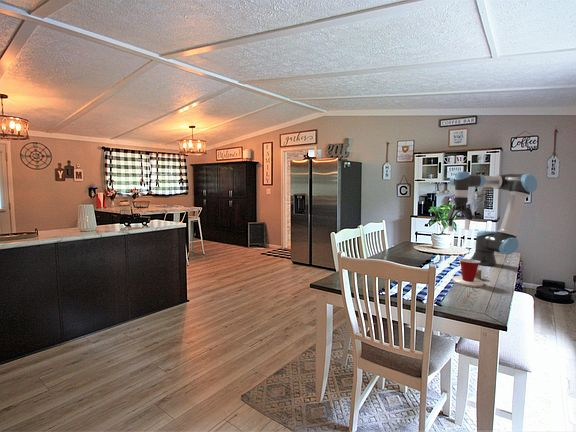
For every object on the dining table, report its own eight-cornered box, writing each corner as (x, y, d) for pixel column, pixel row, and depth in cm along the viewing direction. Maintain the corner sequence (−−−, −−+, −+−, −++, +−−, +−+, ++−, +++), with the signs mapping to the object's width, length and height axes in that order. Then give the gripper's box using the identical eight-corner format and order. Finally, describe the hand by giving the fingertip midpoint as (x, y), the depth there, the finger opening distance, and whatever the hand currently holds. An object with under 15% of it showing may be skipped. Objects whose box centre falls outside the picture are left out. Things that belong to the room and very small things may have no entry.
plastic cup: (476, 278, 200) (478, 258, 199) (480, 284, 190) (482, 263, 189) (456, 276, 204) (457, 256, 202) (458, 281, 194) (460, 261, 192)
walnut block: (472, 276, 210) (472, 268, 210) (480, 278, 206) (481, 270, 206) (468, 277, 207) (469, 269, 207) (477, 279, 203) (478, 271, 203)
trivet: (466, 277, 207) (467, 275, 207) (490, 285, 192) (490, 283, 192) (446, 279, 202) (446, 277, 202) (468, 288, 187) (468, 285, 187)
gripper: (470, 195, 220) (468, 228, 223) (441, 196, 211) (439, 230, 214) (480, 196, 213) (478, 229, 216) (451, 197, 204) (449, 232, 207)
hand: (458, 230), depth 215 cm, fingers open, 13 cm apart
